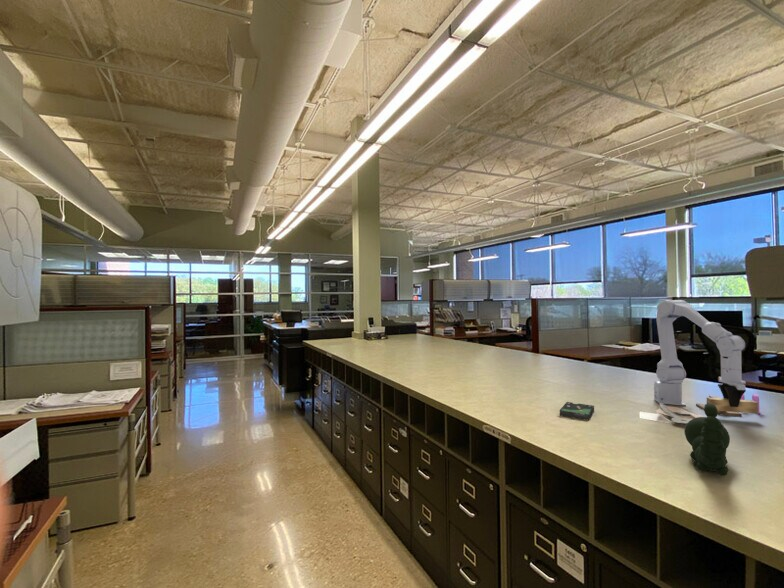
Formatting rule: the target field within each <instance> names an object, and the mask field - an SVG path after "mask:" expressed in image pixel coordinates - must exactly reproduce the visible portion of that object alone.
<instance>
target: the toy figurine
mask: <svg viewBox="0 0 784 588" xmlns="http://www.w3.org/2000/svg"><path fill="white" fill-rule="evenodd" d="M704 404H705V406H704V410H703V412H704V414H705V415H706V416H703V417H697V418H694V419H692V420H690V421H689V422H688V423H687V424H685V427H684V435H685V439H686V441H687V443H689V445H690V446H691V450H692V451H691V452H690V454H689V456H690V458H691V460H693V462H692V466H693V467H694V468H695V469H697V470H698V471H699V472H703V473H704V472H706V471H707V470H708V471H714V472H717V474H718V475H720V476H723V477H725V476H727V475H728V474H729V471H730V470H729V468H728V466H727V464H728V462H729V461H728V460H727V456H726V455H727V449H728V448H729V445H730V442H731V437H730V434H729V431H728V429H727V428H726V427H725V426H724V425H723V424H722V422H721V421H720V419H718V418H717V417H718V410H717V408H716V406H715V405H714V404H712V403H707V402H706V403H704Z"/></svg>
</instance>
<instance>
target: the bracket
mask: <svg viewBox="0 0 784 588" xmlns="http://www.w3.org/2000/svg"><path fill="white" fill-rule="evenodd" d="M751 397H752V398H751V400H752V401H755V402H757V403H758V414H760V396H759V394H752V396H751ZM740 400H746V399H745V393H744V394H743V395H742V397H741V399H740ZM758 414H757V415H758Z"/></svg>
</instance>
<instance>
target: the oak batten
mask: <svg viewBox="0 0 784 588" xmlns="http://www.w3.org/2000/svg"><path fill="white" fill-rule="evenodd" d="M707 403H712V404H714V405H715V406H716V408H717V410H718V411H729V412H739V413H741V414H743V413H744V414H755V415H758V403H757V402H755V401H752V399H751V400H750V399H749V400H747V399H745V400H740V403H739V406H738V407H731V406H730V404H729V399H724V398H722V397H719V398H710V397H709V396H708V397H707V396H706V404H707Z"/></svg>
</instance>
